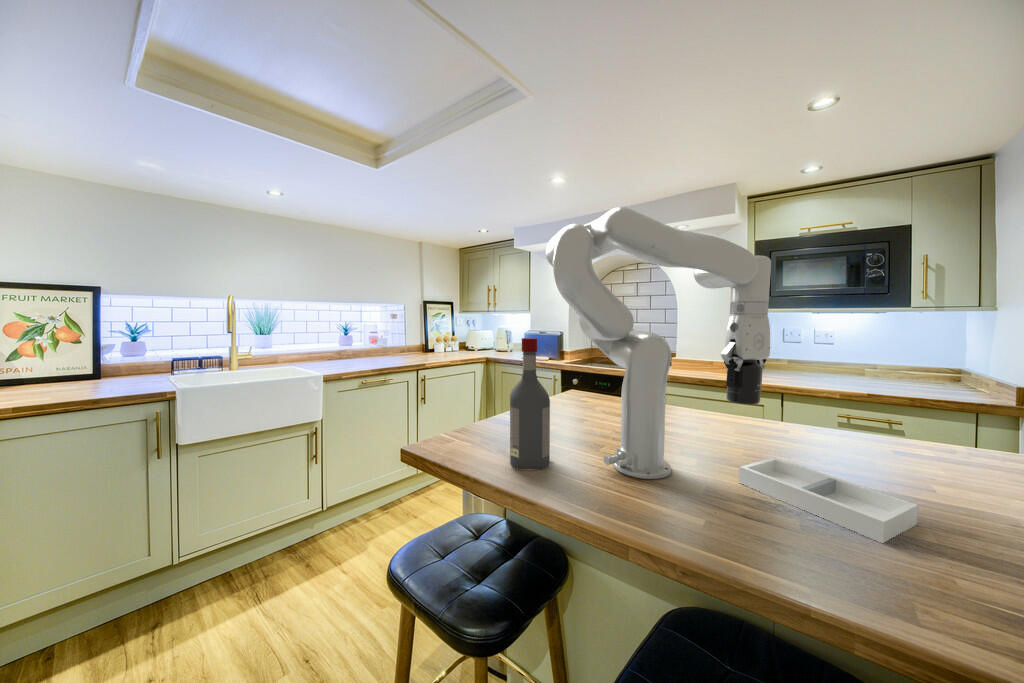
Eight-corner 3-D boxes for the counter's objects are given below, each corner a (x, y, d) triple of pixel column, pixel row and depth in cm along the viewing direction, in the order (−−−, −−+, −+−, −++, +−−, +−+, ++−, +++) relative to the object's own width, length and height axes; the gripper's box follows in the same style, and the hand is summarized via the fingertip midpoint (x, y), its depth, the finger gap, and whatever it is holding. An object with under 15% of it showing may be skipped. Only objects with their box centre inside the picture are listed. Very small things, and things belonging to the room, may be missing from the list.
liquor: (546, 455, 94) (546, 337, 92) (550, 470, 85) (551, 339, 83) (510, 455, 94) (509, 337, 92) (510, 470, 85) (510, 339, 83)
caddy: (882, 543, 58) (884, 522, 58) (738, 482, 79) (739, 466, 78) (916, 524, 63) (918, 504, 63) (773, 472, 84) (773, 457, 84)
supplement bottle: (765, 406, 84) (769, 353, 83) (732, 404, 85) (735, 352, 84) (752, 399, 91) (755, 350, 90) (721, 397, 92) (724, 349, 91)
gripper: (740, 309, 79) (735, 392, 81) (788, 311, 87) (783, 386, 88) (708, 309, 86) (704, 386, 87) (755, 311, 94) (751, 381, 95)
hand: (743, 385), depth 88 cm, fingers closed on supplement bottle, 6 cm apart
